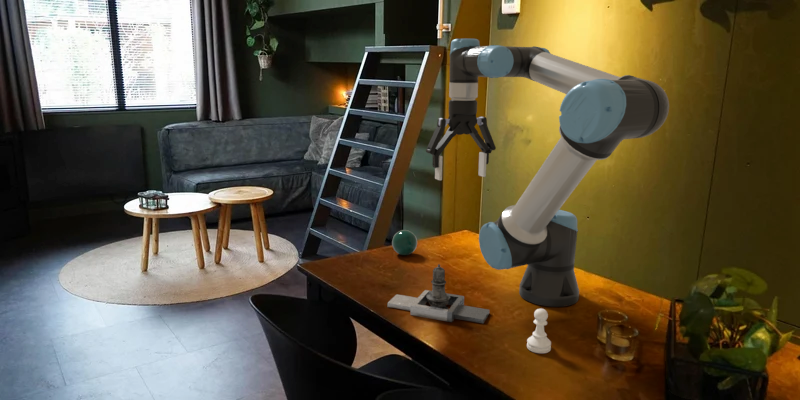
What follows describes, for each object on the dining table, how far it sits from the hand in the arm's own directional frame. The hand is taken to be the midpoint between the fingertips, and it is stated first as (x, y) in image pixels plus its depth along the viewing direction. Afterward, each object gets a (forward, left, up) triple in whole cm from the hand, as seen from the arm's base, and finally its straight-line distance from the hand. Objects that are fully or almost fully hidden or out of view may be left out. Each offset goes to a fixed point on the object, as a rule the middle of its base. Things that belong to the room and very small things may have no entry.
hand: (460, 177), depth 156 cm
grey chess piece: (-2, +24, -29) cm, 37 cm away
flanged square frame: (-2, +24, -29) cm, 37 cm away
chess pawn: (-28, +34, -29) cm, 53 cm away
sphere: (+21, -12, -29) cm, 38 cm away
